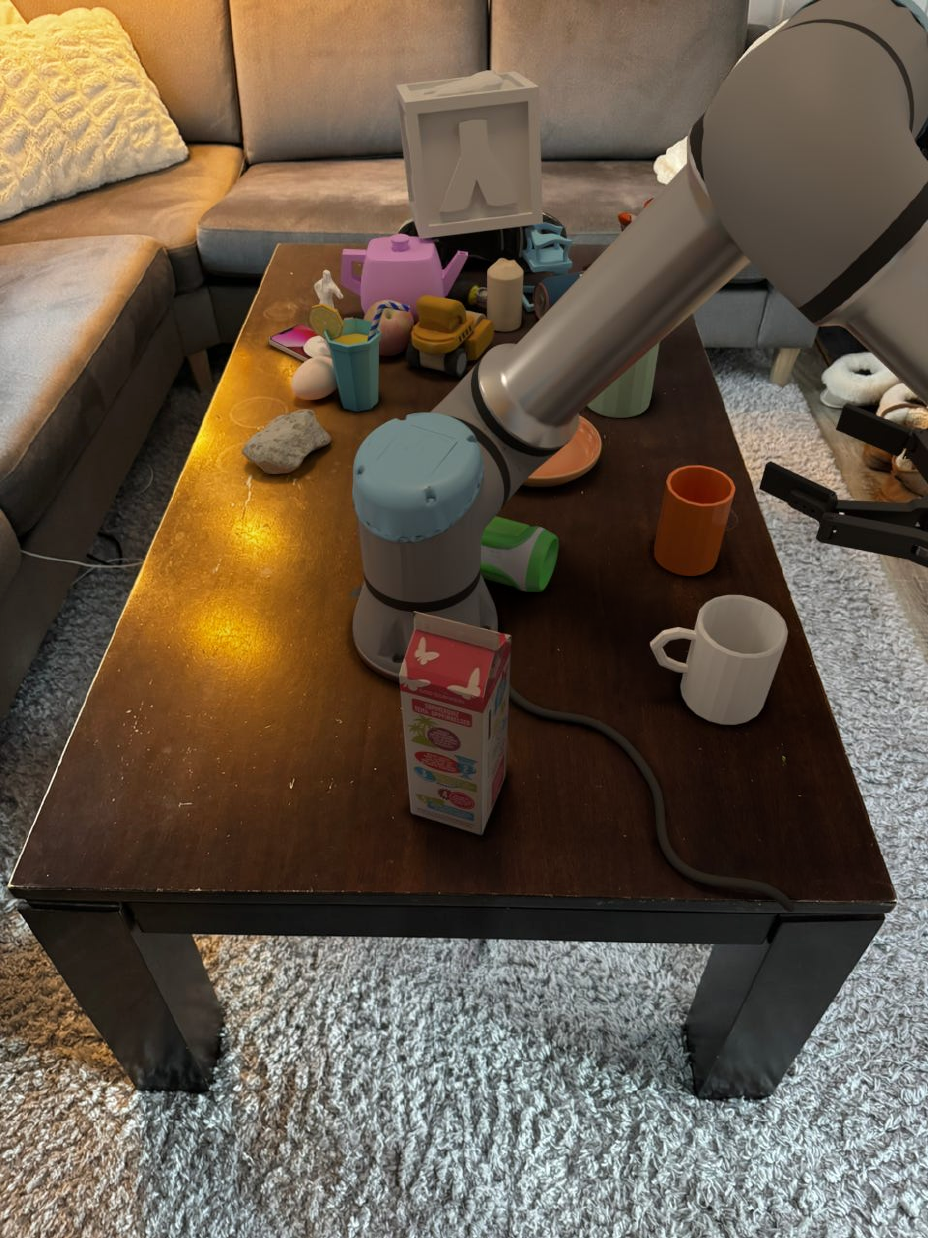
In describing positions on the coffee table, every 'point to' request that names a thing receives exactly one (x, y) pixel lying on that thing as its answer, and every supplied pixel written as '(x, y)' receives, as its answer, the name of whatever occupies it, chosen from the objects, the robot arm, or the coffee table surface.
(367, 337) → the cup
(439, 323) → the toy roller
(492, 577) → the speaker
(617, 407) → the green jar
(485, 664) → the juice carton
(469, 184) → the decorative block
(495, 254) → the running shoe
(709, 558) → the orange cup
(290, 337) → the smartphone
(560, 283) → the soda can
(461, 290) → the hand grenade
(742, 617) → the mug
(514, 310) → the candle
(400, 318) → the apple
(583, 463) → the saucer
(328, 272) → the figurine
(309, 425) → the decorative stone
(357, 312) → the coffee table surface
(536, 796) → the coffee table surface
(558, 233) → the phone stand
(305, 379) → the egg
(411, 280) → the teapot
